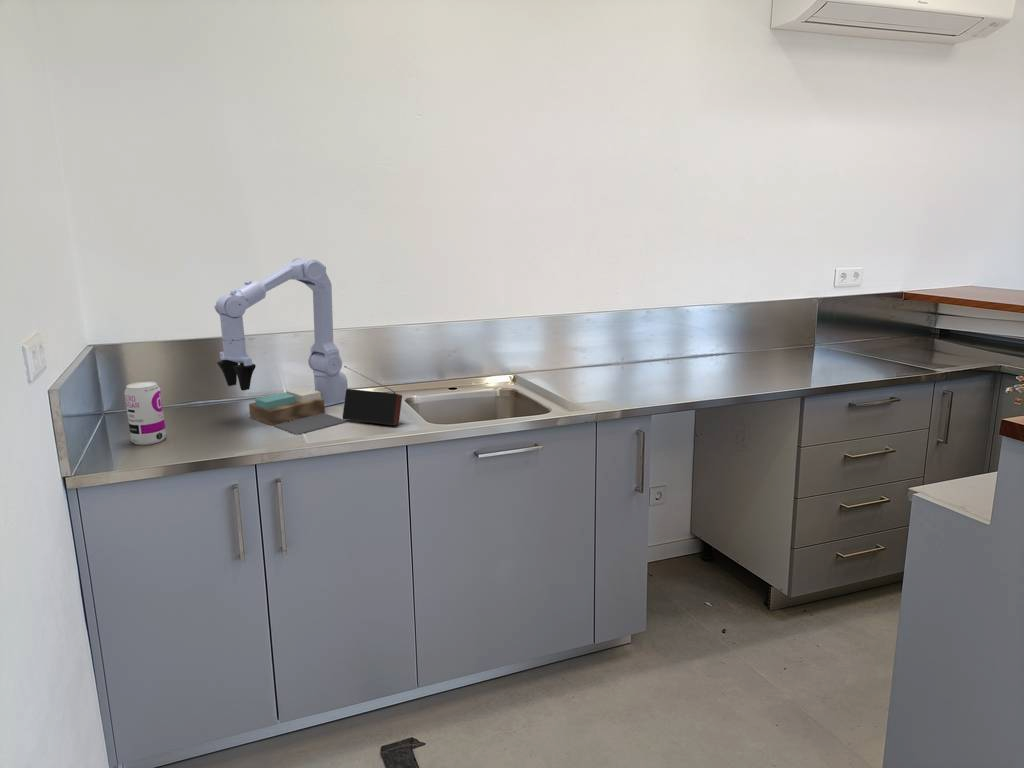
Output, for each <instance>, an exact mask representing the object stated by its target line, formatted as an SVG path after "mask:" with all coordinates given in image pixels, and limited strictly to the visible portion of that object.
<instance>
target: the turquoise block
mask: <svg viewBox="0 0 1024 768" xmlns="http://www.w3.org/2000/svg"><path fill="white" fill-rule="evenodd" d="M254 400H255V402H254V403H256V406H259V407H261V408H264V409H270V408H275V407H279V406H284V405H288V404H292V403H295V396H293V395H290V394H287V393H286V392H280V393H276V394H275V393H274V394H272V395H267V396H261V397H257V398H255V399H254Z"/></svg>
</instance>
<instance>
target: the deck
mask: <svg viewBox="0 0 1024 768" xmlns="http://www.w3.org/2000/svg"><path fill="white" fill-rule="evenodd" d="M325 407H326V406H325ZM325 407H324V399H317V400H312V401H308V402H304V403H302V402H299V401H296V400H295V403H292V404H288V405H284V406H279V407H275V408H270V409H264V408H261V407H259V406H256V403H255V402H252V403H248V409H249V417H250V418H251V419H252V420H256V421H258V422H262V423H264V424H266V425H270V426H272V427H273V425H277V424H281V423H285V422H287V421H292V420H297V419H301V418H305V417H309V416H314V415H318V414H322V413H325V414H326V411H325V410H326V408H325Z"/></svg>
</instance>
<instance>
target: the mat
mask: <svg viewBox="0 0 1024 768" xmlns="http://www.w3.org/2000/svg"><path fill="white" fill-rule="evenodd" d="M348 422H349V420H345V419H343V418H341V417H338V416H333V415H332V414H328V413H326V412H325V413H321V414H317V415H313V416H309V417H305V418H301V419H297V420H293V421H289V422H284V423H280V424H276V425H272V427H274V428H277V429H280V430H283V431H284V430H285V432H287V431H288V433H290V432H291V433H290V434H292V433H294V434H293V435H295V434H300V435H302V434H301V433H304V434H307V433H311V432H315V431H318V430H319V431H320V430H322V429H326V428H330V427H335V426H337V425H342V424H345V423H348Z"/></svg>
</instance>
